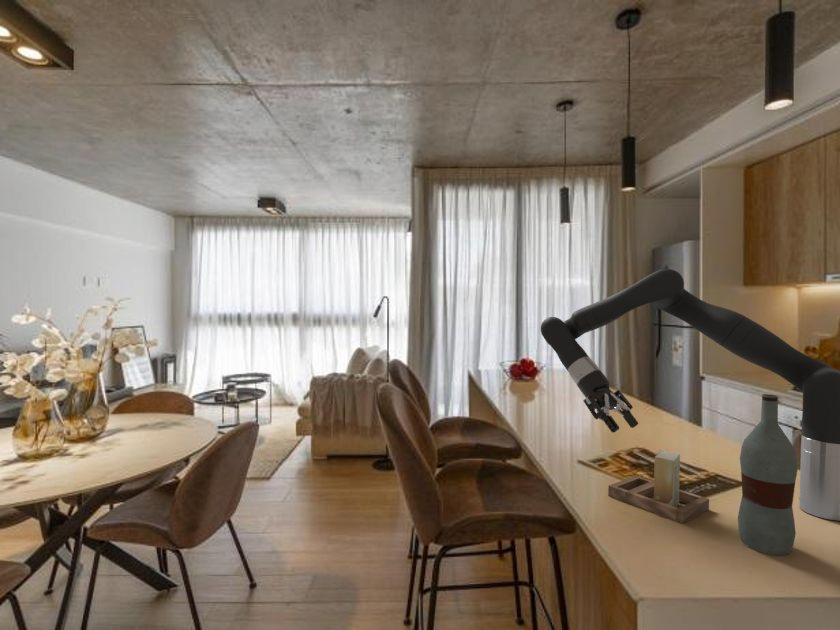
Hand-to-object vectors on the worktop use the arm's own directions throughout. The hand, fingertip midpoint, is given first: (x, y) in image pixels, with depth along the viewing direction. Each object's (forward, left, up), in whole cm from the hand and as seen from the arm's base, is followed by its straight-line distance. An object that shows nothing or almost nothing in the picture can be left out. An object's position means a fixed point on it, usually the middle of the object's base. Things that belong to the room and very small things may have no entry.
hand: (626, 428), depth 122 cm
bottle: (-31, +2, -16) cm, 35 cm away
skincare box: (-11, 0, -16) cm, 19 cm away
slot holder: (-8, 0, -16) cm, 18 cm away
